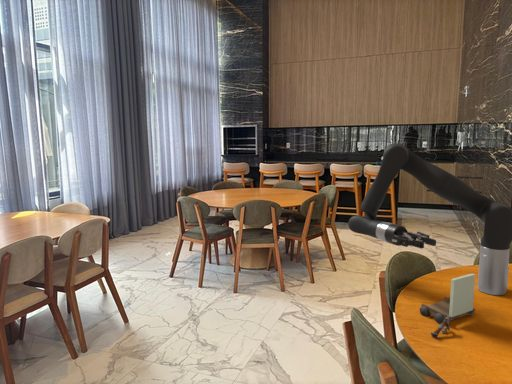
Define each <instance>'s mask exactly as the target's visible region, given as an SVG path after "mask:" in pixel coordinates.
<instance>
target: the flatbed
mask: <svg viewBox="0 0 512 384" xmlns="http://www.w3.org/2000/svg"><path fill="white" fill-rule="evenodd" d="M449 309H450V297H449V298H448V297H446V296H444V298H443V300H442V301H441V300H440V301H437V302H435V303H430V304H428V305H426V304H424V303H422V304H421V305H420V307H419V313H420V314H421V316H423V317H426V316H431V317H433V318H434V319H433V320H434V321H435V322H436V323H437V324H439V325H441V324H442V323H443V321H444V319H445V318H449V322H448V324H449V325H450V321H452V320H456V319H458V318H461V317H464V316H467V315H470V316H474V315H475V312H476V308H474V307H473V310H472V311H469V312H466V313H463V314H460V315H457V316H454V317H450V316H449Z"/></svg>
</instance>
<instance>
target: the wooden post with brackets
mask: <svg viewBox="0 0 512 384" xmlns="http://www.w3.org/2000/svg"><path fill="white" fill-rule="evenodd" d="M448 322H449V318H445V319H444V321H443V323H440V324H439V325H438V327H437V329H436V330H435V331H431V332H430V335H431V337H433V338H434V339H437V340H438V339H439V337H438V336H439V334H440V333H441V334H442V335H445V334H447V333H448V331H450V329H451V327H450V324H448Z"/></svg>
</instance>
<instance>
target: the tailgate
mask: <svg viewBox="0 0 512 384" xmlns="http://www.w3.org/2000/svg"><path fill="white" fill-rule="evenodd" d="M475 283H476V274H475V273H469V274H464V275H461V276H457V277H454V278H451V280H450V295H449V298H450V309H449V316H450V317H454V316H457V315H460V314H463V313H466V312H469V311H472V310H473V308H474V297H475V285H476V284H475Z"/></svg>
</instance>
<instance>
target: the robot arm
mask: <svg viewBox="0 0 512 384" xmlns="http://www.w3.org/2000/svg"><path fill="white" fill-rule="evenodd" d="M401 170H402V171H404V172H406V173H408V174H409V175H411V176H412V177H413V178H414V179H416V180H417V181H418V182H420V184H421V185H423V186H424V187H425V188H426V189H428V190H429V191H430V192H431V193H434V194H435V195H437V196H438V197H440V198H441V199H443V200H446V201H448V202H450V203H452V204H455V205H457V206H459V207H462V208H464V209H466V210H468V211H469V212H471V213H472V214H474V216H476V217H477V218H479V219H480V220H481V221H482V222H483V223H484V229H483V236H481V238H480V248H479V262H478V263H479V264H478V275H477V276H478V277H477V278H478V279H477V291H480V292H482V293H484V294H487V295H492V296H503V295H506V293H507V291H508V283H509V274H510V272H509V270H510V267H509V261H510V251H511V250H510V249H511V244H512V209H511V208H510V207H509V206H506V205H505V204H502V203H501V202H498V201H496V200H494V199H491V198H489V197H487V196H484V195H482V194H481V193H479V192H478V191H476V190H474V188H472V187H471V186H470V185H468V183H466V182H464V181H463V180H462V179H460V178H459V177H457V176H456V175H454V174H452V173H450V171H447V170H445V169H443V168H441V167H439V166H438V165H435V164H434V163H431V162H430V161H427V160H424V159H423V158H421V157H420V156H419V155H417V154H416V153H415V152H413V151H411V150H410V149H409V148H407V147H406V146H405V145H404V144H402V143H399V142H394V143H391V144H389V145H388V146H386V148H385V149H384V150H383V153H382V160H381V163H380V167H379V170H378V172H377V175H376V176H375V179H374V181H373V182H372V183H371V185H370V187H369V189H368V190H367V192H366V194H365V196H364V198H363V200H362V202H361V205H360V210H361V211H362V212H363V213H364V214H363V215H353V216H351V217H350V218H349V220H348V222H347V225H348V229H349V230H351V231H352V232H353V233H355V234H360V235H365V236H369V237H372V238H375V239H377V240H381V241H382V242H384V243H388V244H391V245H394V246H398V247H400V246H401V247H405V248H407V247H410V248H411V247H415V248H418V249H421V250H422V249H424V248H425V245H428V246H432V247H436V245H437V240H436V239H435V238H430V235H428V234H426V233H424V232H421V231H416V233H415V232H413V231H408V230H407V228H406V227H405V226H404V225H400V224H396V223H393V222H387V221H381V220H378V219H377V217H378V212H379V210H380V208H381V206H382V204H383V202H384V200H385V198H386V196H387V193H388V191H389V189H390V187H391V185H392V183H393V181H394V179H395V178H396V177H397V175H398V173H400V171H401Z"/></svg>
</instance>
